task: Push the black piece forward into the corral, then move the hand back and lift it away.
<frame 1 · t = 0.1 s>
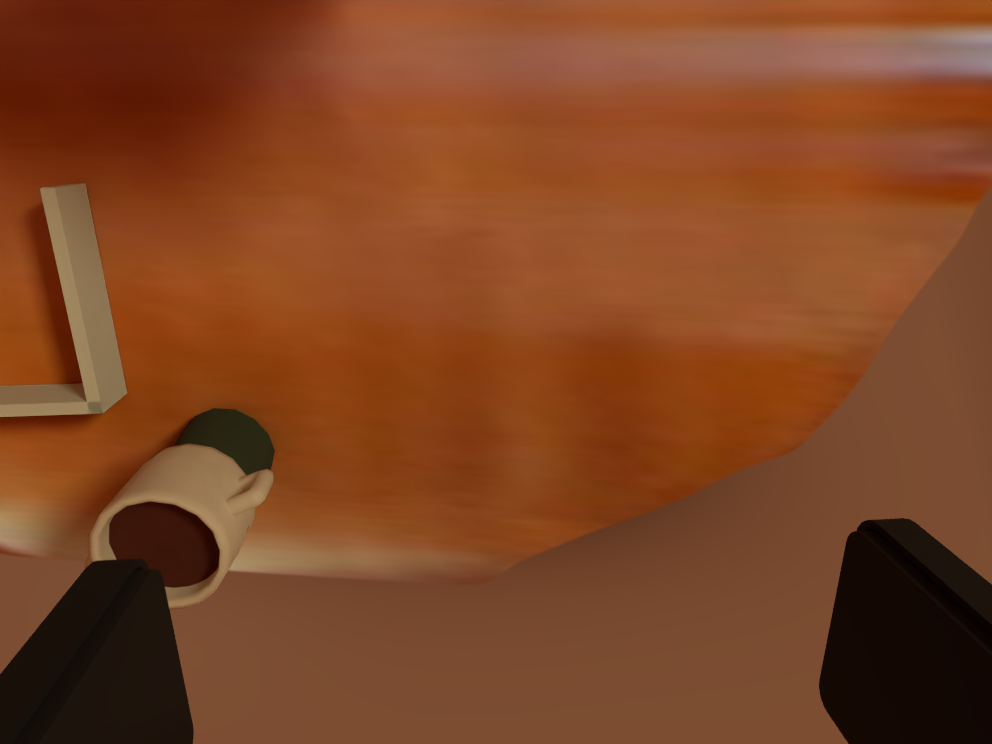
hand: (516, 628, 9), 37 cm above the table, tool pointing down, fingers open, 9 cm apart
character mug: (231, 444, 47), on the table
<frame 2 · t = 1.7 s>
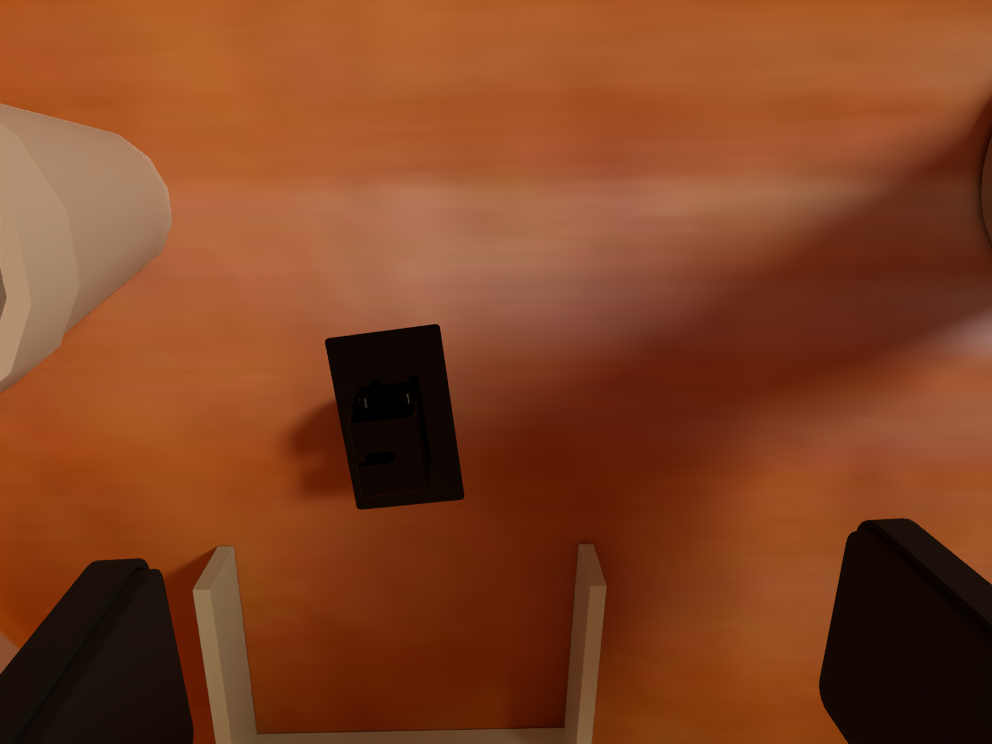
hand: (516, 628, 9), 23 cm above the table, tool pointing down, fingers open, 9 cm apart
corral: (410, 649, 38), on the table
black piece: (397, 414, 34), on the table
foam cup: (98, 203, 29), on the table
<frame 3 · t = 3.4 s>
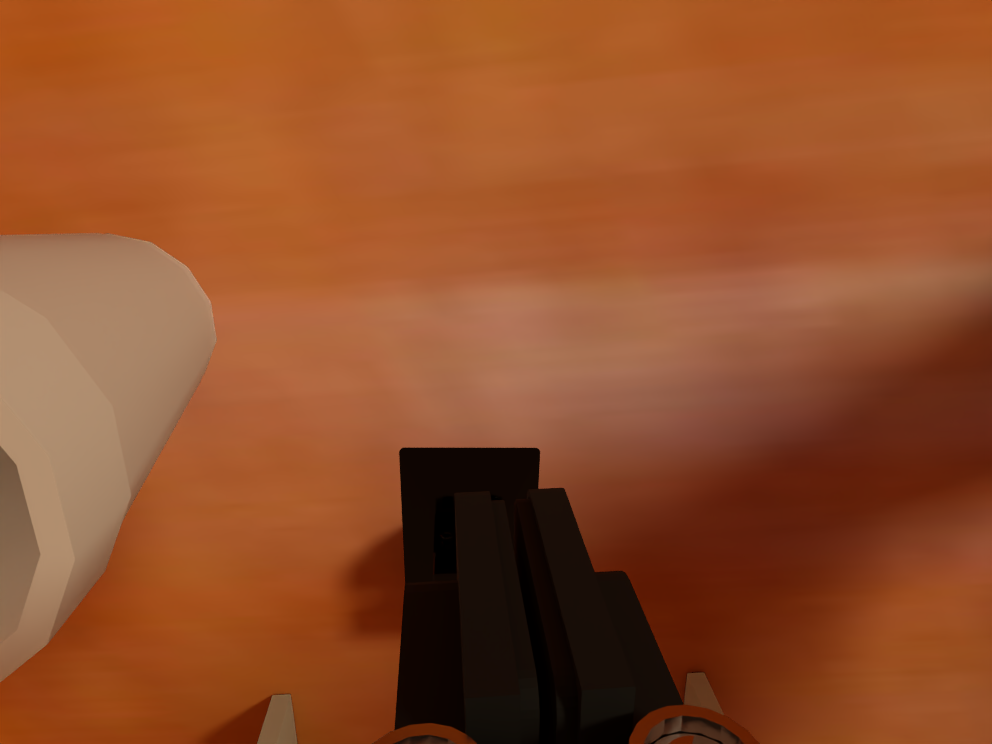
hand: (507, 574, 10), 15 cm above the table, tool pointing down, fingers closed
black piece: (469, 540, 29), on the table
foam cup: (127, 321, 24), on the table
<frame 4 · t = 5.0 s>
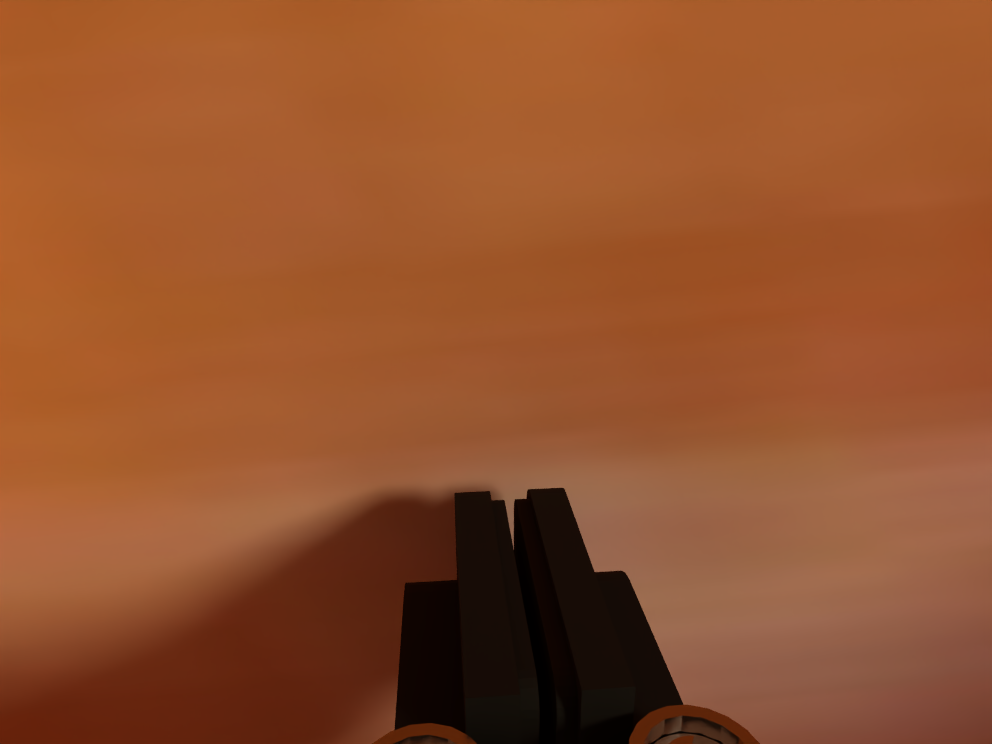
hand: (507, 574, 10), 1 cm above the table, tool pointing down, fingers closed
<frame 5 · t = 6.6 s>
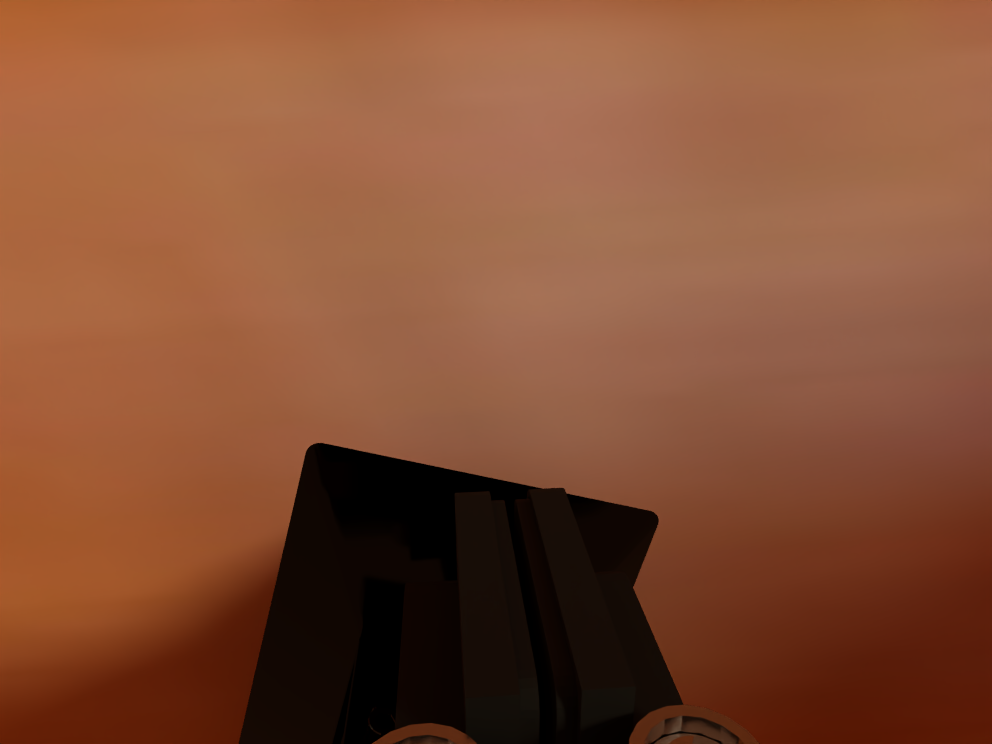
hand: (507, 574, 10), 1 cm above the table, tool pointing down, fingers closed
black piece: (417, 692, 13), on the table, touching gripper
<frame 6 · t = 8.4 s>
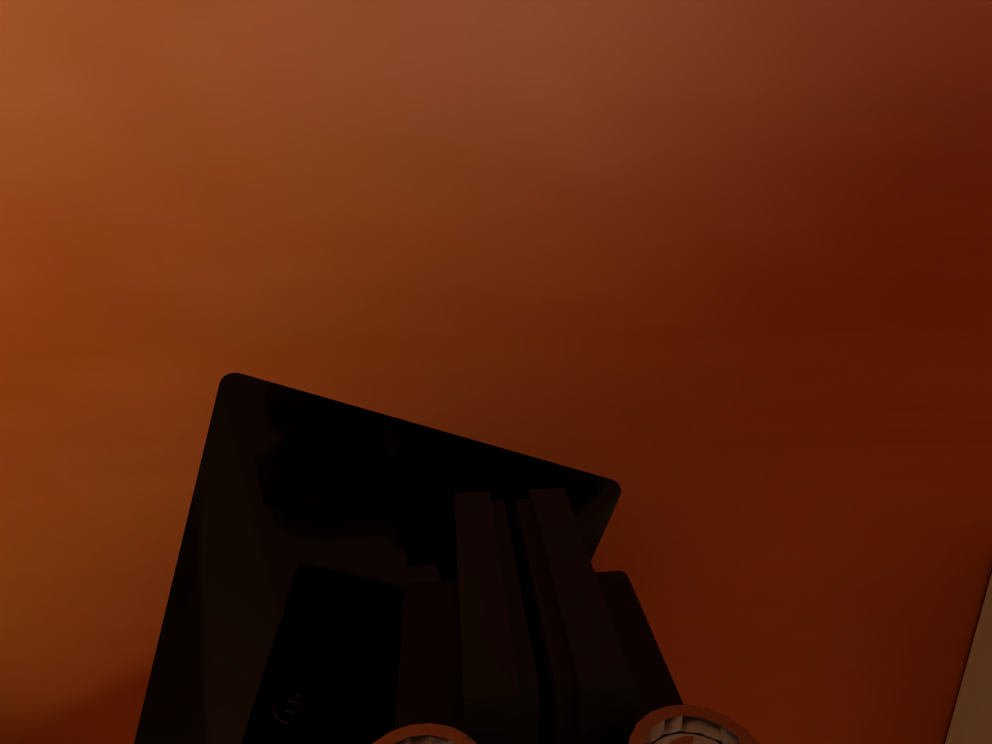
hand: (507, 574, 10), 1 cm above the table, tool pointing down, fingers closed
black piece: (343, 683, 13), on the table, touching gripper
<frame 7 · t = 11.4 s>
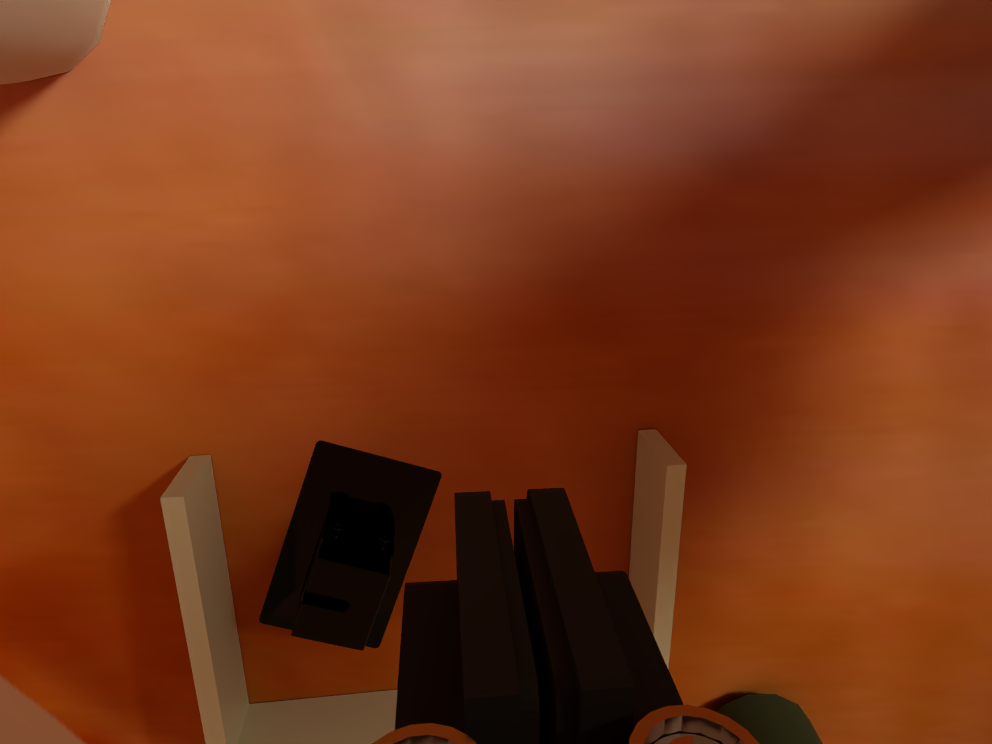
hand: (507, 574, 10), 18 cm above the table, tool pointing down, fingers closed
corral: (437, 579, 31), on the table
black piece: (350, 539, 30), on the table
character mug: (744, 727, 36), on the table
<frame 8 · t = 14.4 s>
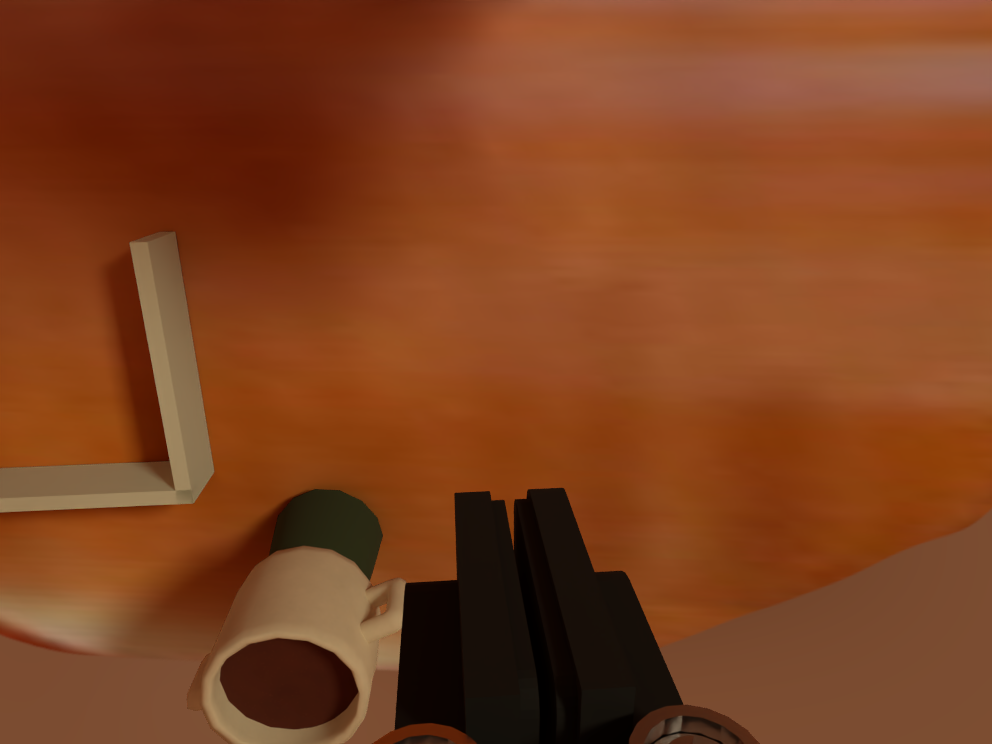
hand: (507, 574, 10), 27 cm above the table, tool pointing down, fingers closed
corral: (4, 365, 36), on the table
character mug: (331, 527, 41), on the table
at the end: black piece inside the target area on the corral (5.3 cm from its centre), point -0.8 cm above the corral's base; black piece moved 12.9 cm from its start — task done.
